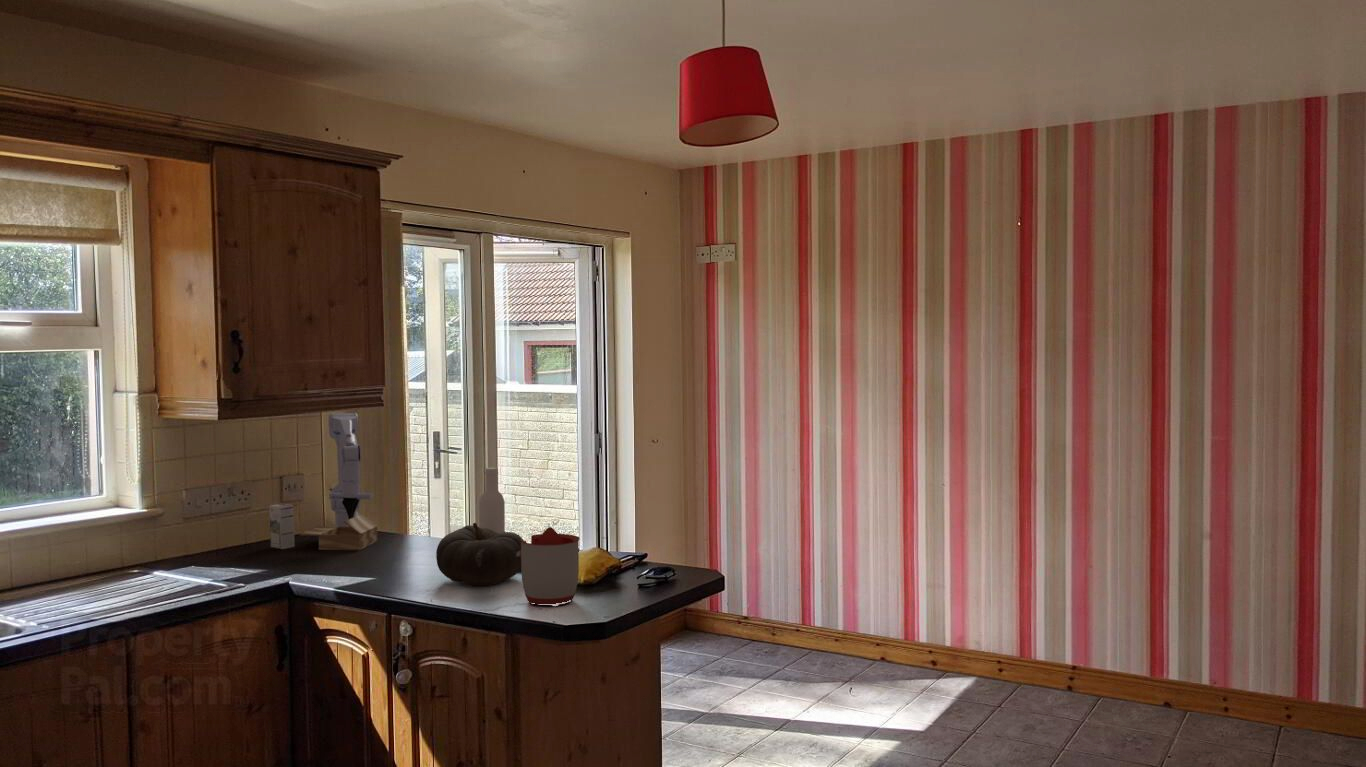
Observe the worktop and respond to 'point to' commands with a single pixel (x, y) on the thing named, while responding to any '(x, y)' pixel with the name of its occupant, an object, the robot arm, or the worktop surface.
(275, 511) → the syrup box
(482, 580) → the gourd
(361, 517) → the carton flap
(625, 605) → the worktop surface
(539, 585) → the citrus juicer
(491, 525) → the bottle
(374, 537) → the carton
